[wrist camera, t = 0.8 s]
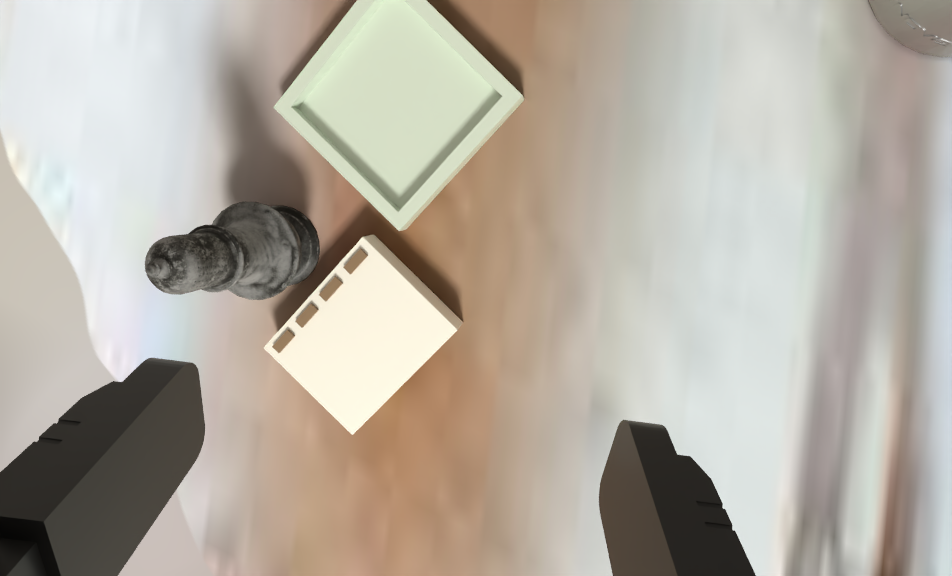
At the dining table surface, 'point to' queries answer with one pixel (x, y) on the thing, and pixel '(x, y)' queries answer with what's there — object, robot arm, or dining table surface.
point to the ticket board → (362, 333)
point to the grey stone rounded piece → (238, 253)
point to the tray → (398, 103)
